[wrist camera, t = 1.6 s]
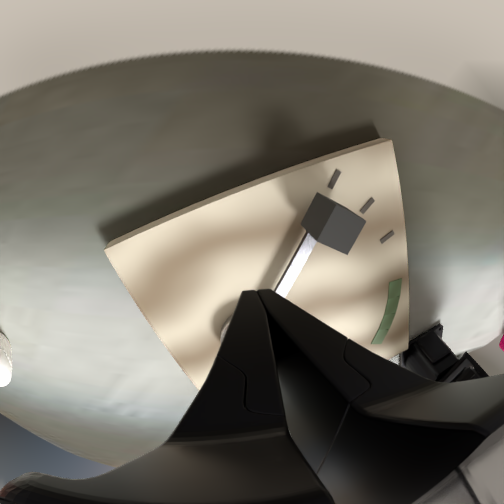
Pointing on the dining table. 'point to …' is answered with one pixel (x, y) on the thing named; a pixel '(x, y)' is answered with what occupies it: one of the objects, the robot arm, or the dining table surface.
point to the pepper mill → (502, 343)
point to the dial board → (275, 257)
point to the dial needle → (318, 238)
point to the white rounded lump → (5, 360)
